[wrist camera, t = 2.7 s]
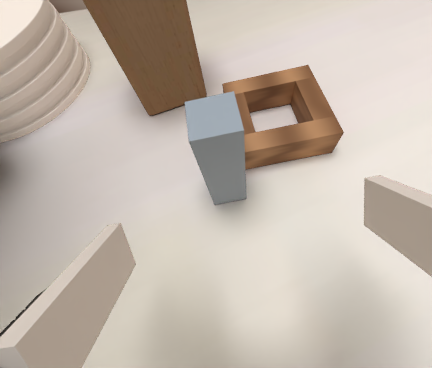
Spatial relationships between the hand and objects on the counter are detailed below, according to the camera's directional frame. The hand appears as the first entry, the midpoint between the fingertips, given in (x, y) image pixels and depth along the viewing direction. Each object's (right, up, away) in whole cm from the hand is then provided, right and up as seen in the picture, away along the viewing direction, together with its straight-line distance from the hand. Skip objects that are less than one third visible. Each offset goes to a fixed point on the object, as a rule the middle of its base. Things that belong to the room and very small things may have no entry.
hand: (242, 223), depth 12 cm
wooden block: (-9, +19, +26) cm, 33 cm away
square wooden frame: (+7, +10, +19) cm, 23 cm away
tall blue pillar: (0, +2, +16) cm, 16 cm away
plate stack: (-40, +22, +32) cm, 56 cm away
